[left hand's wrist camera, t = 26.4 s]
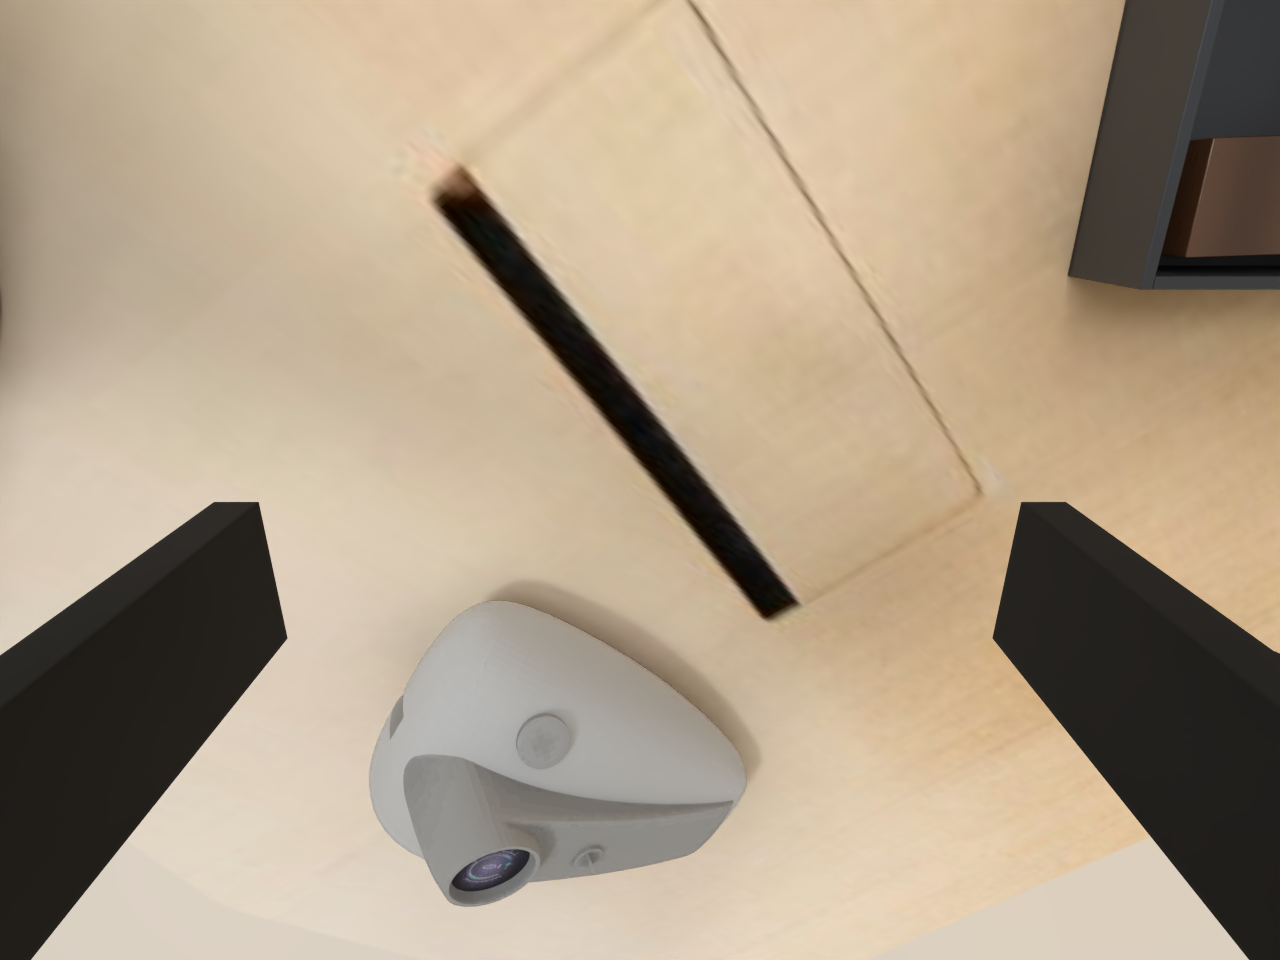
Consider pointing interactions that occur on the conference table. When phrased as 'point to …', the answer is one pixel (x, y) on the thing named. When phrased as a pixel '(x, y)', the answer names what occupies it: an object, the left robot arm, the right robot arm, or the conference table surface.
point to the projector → (544, 759)
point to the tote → (1175, 136)
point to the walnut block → (1227, 199)
